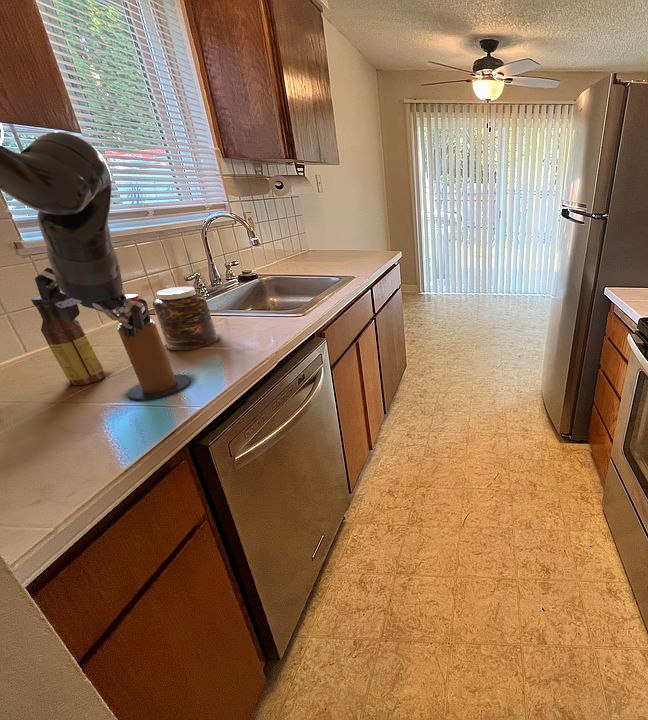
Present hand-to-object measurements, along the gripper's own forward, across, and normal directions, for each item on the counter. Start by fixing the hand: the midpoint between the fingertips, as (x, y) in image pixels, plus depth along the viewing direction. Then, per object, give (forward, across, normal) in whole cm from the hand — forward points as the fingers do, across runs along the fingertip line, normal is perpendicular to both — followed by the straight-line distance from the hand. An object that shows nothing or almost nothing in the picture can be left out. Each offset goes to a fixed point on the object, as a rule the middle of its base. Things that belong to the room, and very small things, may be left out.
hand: (103, 325), depth 72 cm
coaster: (+17, +8, -1) cm, 19 cm away
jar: (+34, +5, +22) cm, 41 cm away
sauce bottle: (+29, -8, +2) cm, 30 cm away
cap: (+5, +1, +7) cm, 8 cm away
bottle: (+17, +8, -1) cm, 19 cm away
